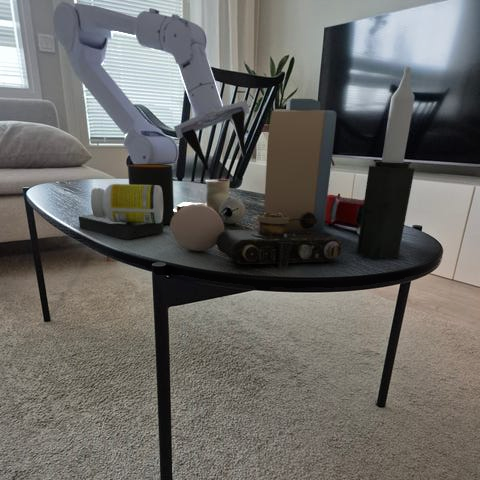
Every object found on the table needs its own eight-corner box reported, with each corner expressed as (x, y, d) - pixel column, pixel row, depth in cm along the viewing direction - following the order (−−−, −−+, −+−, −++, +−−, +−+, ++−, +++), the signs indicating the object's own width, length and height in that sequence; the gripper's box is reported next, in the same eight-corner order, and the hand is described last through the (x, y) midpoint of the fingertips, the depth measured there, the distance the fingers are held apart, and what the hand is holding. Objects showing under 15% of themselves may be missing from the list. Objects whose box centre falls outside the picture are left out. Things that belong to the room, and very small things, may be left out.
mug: (185, 215, 90) (183, 163, 85) (165, 226, 79) (163, 167, 75) (148, 213, 91) (145, 162, 87) (124, 223, 80) (119, 165, 76)
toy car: (328, 192, 87) (312, 189, 84) (390, 200, 77) (375, 197, 74) (322, 223, 89) (306, 222, 86) (381, 235, 79) (366, 234, 76)
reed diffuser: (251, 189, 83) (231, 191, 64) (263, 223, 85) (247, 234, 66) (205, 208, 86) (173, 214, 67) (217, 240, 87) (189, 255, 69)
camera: (321, 210, 64) (351, 218, 57) (316, 253, 66) (343, 266, 59) (217, 209, 58) (236, 218, 51) (216, 256, 61) (233, 270, 54)
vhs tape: (164, 232, 74) (163, 220, 73) (127, 239, 68) (126, 227, 68) (116, 221, 82) (115, 211, 82) (79, 227, 77) (78, 216, 76)
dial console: (175, 219, 86) (174, 206, 85) (185, 212, 94) (185, 200, 93) (235, 222, 85) (235, 209, 84) (240, 215, 93) (241, 203, 92)
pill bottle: (162, 180, 71) (96, 178, 70) (158, 191, 66) (87, 189, 65) (164, 216, 75) (100, 214, 74) (160, 229, 70) (92, 227, 69)
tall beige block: (321, 250, 66) (338, 95, 58) (262, 245, 68) (270, 94, 59) (324, 225, 85) (337, 106, 76) (277, 222, 87) (285, 105, 78)
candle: (353, 251, 66) (379, 68, 56) (381, 250, 68) (411, 71, 58) (372, 260, 62) (404, 62, 52) (401, 258, 63) (437, 66, 53)
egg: (199, 256, 58) (159, 248, 65) (234, 252, 63) (193, 245, 70) (199, 205, 56) (157, 202, 63) (235, 205, 61) (193, 202, 68)
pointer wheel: (203, 206, 86) (203, 179, 84) (208, 203, 91) (208, 177, 89) (226, 207, 86) (227, 180, 84) (230, 204, 90) (230, 178, 88)
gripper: (162, 97, 76) (188, 172, 78) (238, 69, 75) (262, 146, 78) (168, 108, 82) (192, 177, 85) (238, 82, 82) (260, 152, 84)
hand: (226, 162), depth 82 cm, fingers open, 7 cm apart
